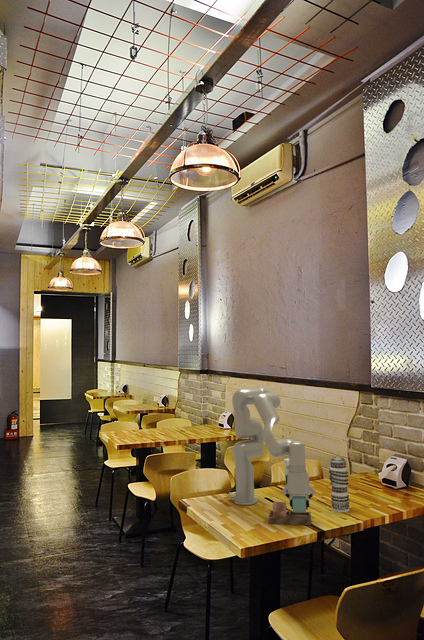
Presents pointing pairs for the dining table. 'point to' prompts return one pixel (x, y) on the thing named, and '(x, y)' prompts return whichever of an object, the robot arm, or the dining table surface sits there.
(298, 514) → the walnut tray
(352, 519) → the dining table surface
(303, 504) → the teal cube
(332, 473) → the decorative candle
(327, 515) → the dining table surface
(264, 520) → the dining table surface
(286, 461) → the milk carton
